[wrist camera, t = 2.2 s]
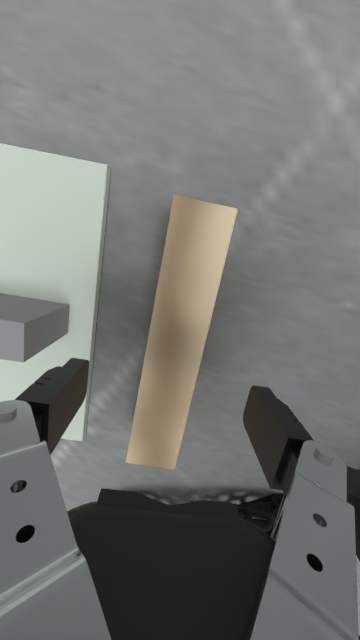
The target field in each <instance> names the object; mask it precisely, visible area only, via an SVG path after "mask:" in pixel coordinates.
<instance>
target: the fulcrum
mask: <svg viewBox="0 0 360 640" xmlns="http://www.w3.org/2000/svg"><path fill="white" fill-rule="evenodd" d="M110 175H111V169H110V168H109V167H108V165H106V164H101V163H96V162H91V161H86V160H81V159H76V158H71V157H66V156H61V155H56V154H51V153H46V152H41V151H36V150H31V149H26V148H21V147H16V146H11V145H6V144H1V143H0V402H2V401H7V400H15V399H16V398H17V397H18V396H19V395H20V394H21V393H23V392H24V391H25V390H26V389H27V388H28V387H29V386H30V385H31V384H34V382H35V381H36V380H37V379H38V378H40V376H42V375H43V374H44V373H45V372H46V371H47V370H50V369H52V368H54V367H57V366H60V367H62V366H63V365H65V364H66V363H67V362H68V361H69V360H70V359H71V358H78V359H85V360H88V361H89V372H88V383H87V392H86V396H85V399H84V402H83V404H82V405H81V407H80V408H79V410H78V412H77V413H76V415H75V416H74V418H73V420H72V421H71V423H70V424H69V426H68V428H67V429H66V431H65V432H64V434H63V436H62V437H61V439H68V440H76V441H83V439H84V437H85V435H86V430H87V419H88V408H89V398H90V387H91V376H92V366H93V355H94V345H95V334H96V323H97V313H98V302H99V292H100V281H101V270H102V260H103V249H104V238H105V228H106V217H107V207H108V196H109V185H110Z"/></svg>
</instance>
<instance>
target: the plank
mask: <svg viewBox="0 0 360 640" xmlns="http://www.w3.org/2000/svg"><path fill="white" fill-rule="evenodd" d="M237 210H238V209H236V208H231V207H227V206H223V205H218V204H214V203H209V202H205V201H201V200H196V199H192V198H187V197H183V196H179V195H174V196H173V201H172V207H171V213H170V218H169V224H168V229H167V235H166V240H165V246H164V252H163V257H162V263H161V268H160V274H159V279H158V285H157V291H156V296H155V302H154V307H153V313H152V318H151V324H150V330H149V335H148V341H147V346H146V352H145V358H144V363H143V369H142V374H141V380H140V385H139V391H138V397H137V402H136V408H135V413H134V419H133V424H132V430H131V436H130V441H129V447H128V452H127V458H126V463H133V464H139V465H146V466H152V467H159V468H165V469H172V470H175V466H176V462H177V458H178V454H179V449H180V445H181V441H182V437H183V433H184V429H185V425H186V421H187V416H188V412H189V408H190V404H191V400H192V396H193V392H194V388H195V383H196V379H197V375H198V371H199V367H200V363H201V359H202V355H203V350H204V346H205V342H206V338H207V334H208V330H209V326H210V322H211V317H212V313H213V309H214V305H215V301H216V297H217V293H218V289H219V284H220V280H221V276H222V272H223V268H224V264H225V260H226V256H227V251H228V247H229V243H230V239H231V235H232V231H233V227H234V223H235V218H236V214H237Z"/></svg>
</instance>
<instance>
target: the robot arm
mask: <svg viewBox="0 0 360 640" xmlns="http://www.w3.org/2000/svg"><path fill="white" fill-rule="evenodd" d="M88 372H89V361H88V360H85V359H78V358H71V359H70V360H69V361H68V362H67V363H66V364H65V365H63V366H62V367H60V366H57V367H54V368H52V369H50V370H47V371H46V372H45V373H44V374H43V375H42V376H40V378H38V379H37V380H36V381H35V382H34V384H31V385H30V386H29V387H28V388H27V389H26V390H25V391H24V392H23V393H21V394H20V395H19V396H18V397H17V398H16V399H15V400H7V401H2V402H0V640H360V636H359V635H358V604H357V572H356V555H357V557H358V559H359V561H360V471H359V470H357V469H354V468H351V467H348V466H347V465H346V462H345V461H344V459H343V458H342V457H341V456H340V455H339V454H338V453H337V452H336V451H335V450H333V449H332V448H330V447H329V446H327V445H325V444H323V443H320V442H318V441H314V440H313V439H312V437H311V436H310V435H309V433H308V432H307V431H306V429H305V428H304V427H303V426H302V424H301V423H300V422H298V419H297V418H296V416H295V415H294V414H293V412H292V411H291V410H290V409H289V407H288V406H287V405H285V404H284V403H283V402H282V401H280V400H279V399H277V398H276V397H275V395H274V394H273V392H272V391H271V390H270V388H268V387H261V386H252V387H251V389H250V393H249V396H248V400H247V403H246V407H245V410H244V415H243V422H244V426H245V429H246V431H247V434H248V436H249V438H250V441H251V443H252V446H253V448H254V450H255V453H256V455H257V458H258V460H259V462H260V465H261V467H262V470H263V472H264V474H265V477H266V479H267V482H268V484H269V486H270V489H278V490H283V492H284V496H283V499H282V502H281V505H280V508H279V512H278V515H277V518H276V521H275V524H274V528H273V531H272V534H271V537H269V536H268V535H267V534H266V533H265V532H263V531H262V530H261V529H259V528H258V527H256V526H255V525H253V524H252V523H250V522H248V521H246V520H244V519H242V518H240V516H239V512H238V508H237V504H232V503H224V502H215V501H206V500H203V501H197V502H191V503H185V504H178V505H167V504H164V503H162V502H159V501H156V500H154V499H151V498H149V497H146V496H144V495H141V494H138V493H136V492H128V491H119V490H110V489H101V492H100V495H99V498H98V501H96V502H91V503H87V504H84V505H81V506H78V507H76V508H73V509H71V510H69V511H67V510H66V507H65V504H64V500H63V497H62V494H61V490H60V487H59V484H58V480H57V477H56V473H55V470H54V467H53V463H52V460H51V457H50V455H51V453H52V452H53V450H54V448H55V447H56V445H57V444H58V442H59V440H60V439H61V437H62V436H63V434H64V432H65V431H66V429H67V428H68V426H69V424H70V423H71V421H72V420H73V418H74V416H75V415H76V413H77V412H78V410H79V408H80V407H81V405H82V404H83V402H84V399H85V396H86V392H87V383H88Z"/></svg>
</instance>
